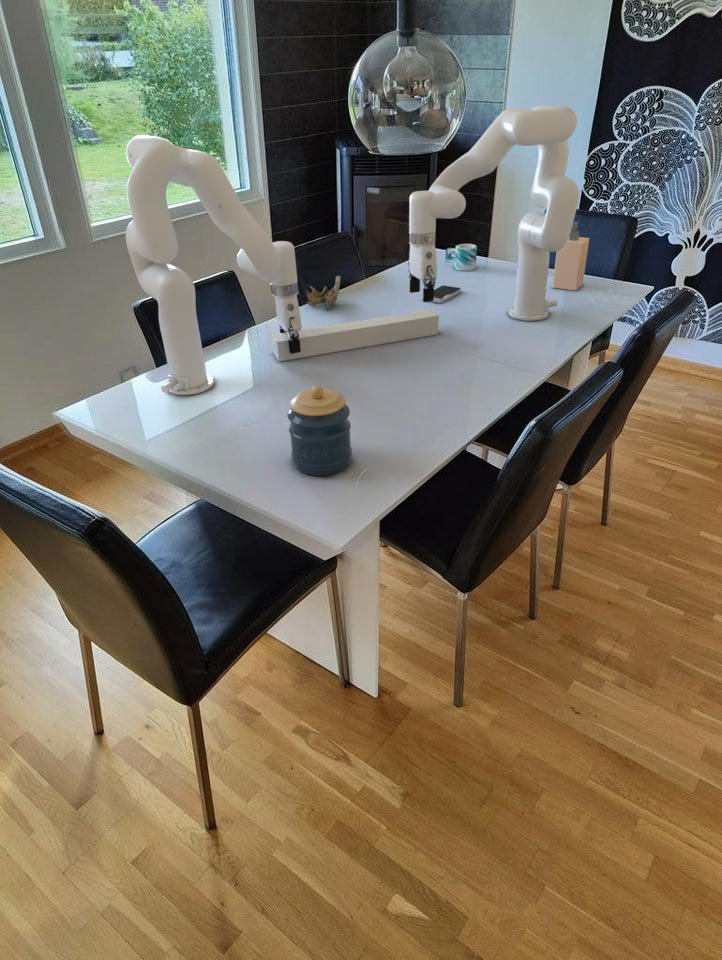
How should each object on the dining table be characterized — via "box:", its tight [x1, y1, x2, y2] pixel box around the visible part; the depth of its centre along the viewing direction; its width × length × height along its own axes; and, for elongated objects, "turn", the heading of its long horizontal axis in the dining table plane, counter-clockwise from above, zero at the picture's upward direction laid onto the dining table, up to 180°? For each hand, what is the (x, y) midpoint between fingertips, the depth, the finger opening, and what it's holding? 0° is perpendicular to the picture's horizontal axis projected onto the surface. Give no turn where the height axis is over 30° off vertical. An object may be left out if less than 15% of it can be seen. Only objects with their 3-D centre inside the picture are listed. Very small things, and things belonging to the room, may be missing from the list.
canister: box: [287, 385, 353, 476], centre depth 141 cm, size 13×13×18 cm
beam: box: [271, 309, 440, 362], centre depth 201 cm, size 51×6×6 cm, turn 110°
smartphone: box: [431, 285, 462, 304], centre depth 237 cm, size 8×1×15 cm
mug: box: [445, 243, 478, 272], centre depth 265 cm, size 8×12×8 cm
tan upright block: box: [552, 221, 590, 292], centre depth 235 cm, size 13×9×22 cm
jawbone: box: [305, 275, 341, 310], centre depth 232 cm, size 9×15×10 cm
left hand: (290, 346), depth 196 cm, fingers open, 9 cm apart
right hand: (421, 296), depth 202 cm, fingers open, 9 cm apart
